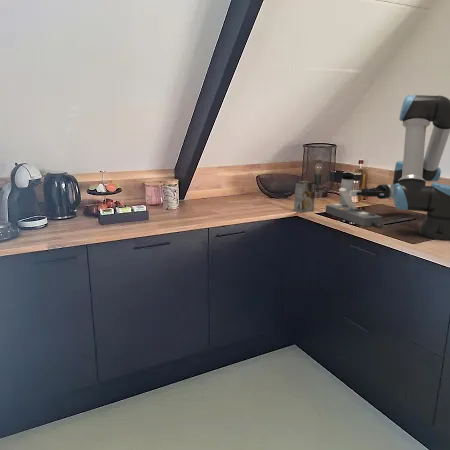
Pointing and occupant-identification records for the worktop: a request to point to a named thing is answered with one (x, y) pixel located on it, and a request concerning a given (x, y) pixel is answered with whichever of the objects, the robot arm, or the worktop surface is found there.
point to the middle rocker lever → (347, 199)
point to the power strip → (354, 215)
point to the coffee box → (304, 196)
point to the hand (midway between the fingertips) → (350, 193)
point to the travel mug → (346, 185)
